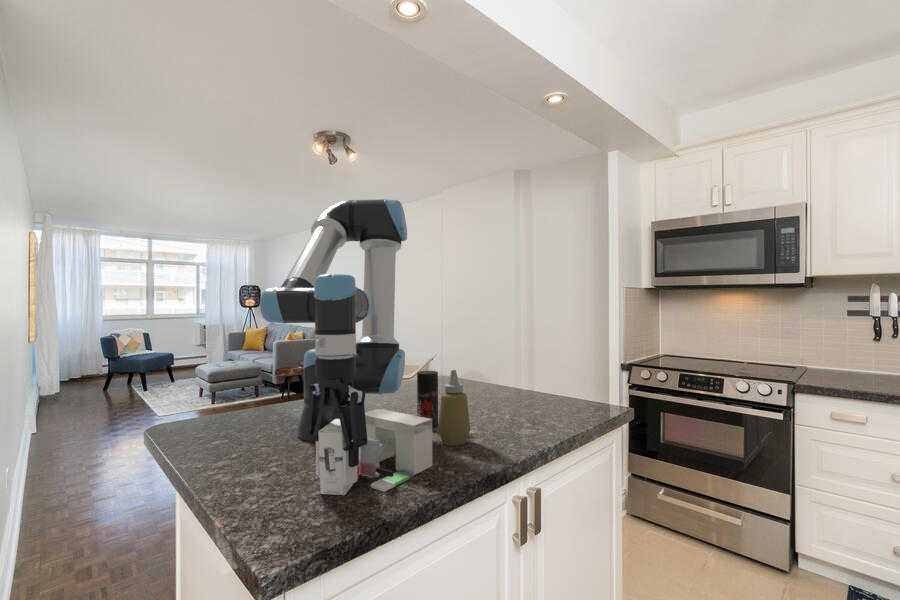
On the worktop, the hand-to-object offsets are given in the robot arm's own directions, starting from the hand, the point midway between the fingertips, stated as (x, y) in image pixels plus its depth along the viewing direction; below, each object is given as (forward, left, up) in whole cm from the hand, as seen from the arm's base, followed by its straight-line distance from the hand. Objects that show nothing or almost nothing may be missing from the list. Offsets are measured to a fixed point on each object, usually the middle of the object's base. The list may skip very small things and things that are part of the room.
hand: (336, 478), depth 81 cm
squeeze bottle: (+3, +34, -2) cm, 34 cm away
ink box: (-1, +1, -2) cm, 3 cm away
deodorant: (-12, +42, -2) cm, 44 cm away
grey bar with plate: (+2, +11, -1) cm, 11 cm away
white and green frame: (0, +12, -2) cm, 12 cm away
